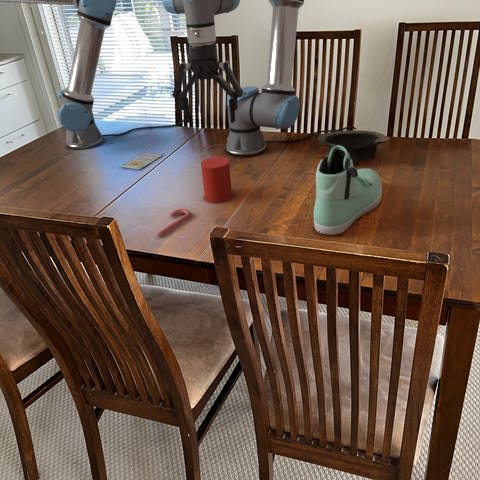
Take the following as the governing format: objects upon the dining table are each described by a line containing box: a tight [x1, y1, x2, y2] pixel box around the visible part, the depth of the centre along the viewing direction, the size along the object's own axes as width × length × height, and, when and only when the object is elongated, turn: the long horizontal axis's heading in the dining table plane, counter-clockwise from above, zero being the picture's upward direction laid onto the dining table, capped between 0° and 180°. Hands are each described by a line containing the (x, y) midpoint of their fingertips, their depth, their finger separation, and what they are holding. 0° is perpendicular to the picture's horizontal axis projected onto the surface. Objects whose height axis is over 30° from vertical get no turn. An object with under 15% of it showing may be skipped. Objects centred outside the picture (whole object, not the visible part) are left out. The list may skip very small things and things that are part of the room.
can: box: [200, 156, 233, 204], centre depth 148 cm, size 9×9×12 cm
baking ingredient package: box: [119, 152, 162, 170], centre depth 182 cm, size 9×1×15 cm
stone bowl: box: [316, 129, 390, 165], centre depth 170 cm, size 25×25×9 cm
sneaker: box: [313, 146, 383, 236], centre depth 133 cm, size 14×35×20 cm, turn 152°
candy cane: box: [156, 208, 192, 238], centre depth 138 cm, size 6×15×2 cm, turn 145°
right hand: (210, 121), depth 139 cm, fingers open, 13 cm apart
